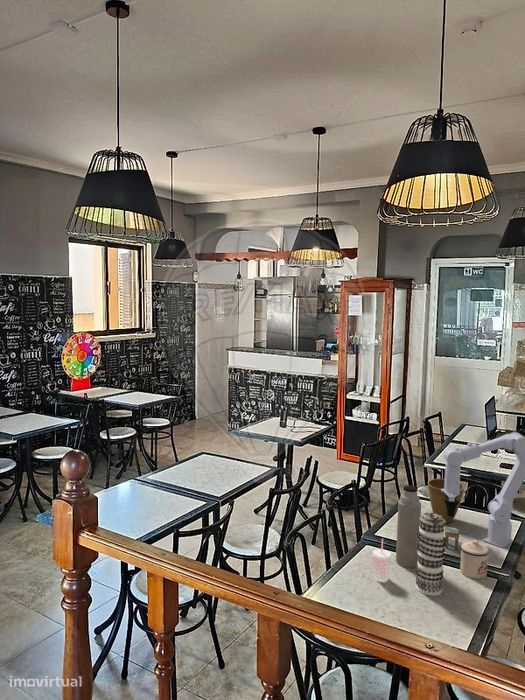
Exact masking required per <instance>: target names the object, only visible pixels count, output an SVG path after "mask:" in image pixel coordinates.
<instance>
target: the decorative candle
mask: <svg viewBox="0 0 525 700" xmlns="http://www.w3.org/2000/svg"><path fill="white" fill-rule="evenodd" d="M419 518H420V526H419V528H418V529H417V538H418V539H417V548H418V550H417V553H418V555H419V556H418V565H417V566H416V567H415V569H416V570H415V571H416V575H415V589H416V590H417V591H418V592H419V593H422V594H424V595H426V596H439V595H441V594H442V593H443V584H444V579H443V578H444V569H443V567H444V566H443V559H444V558H445V556H446V555H445V549H444V548H443V547H444V546H446V544H445V541H446V539H445V538H444V537H445V524H446V523H445V520H444V519H443V518H442V516H441V515H439V514H437V513H433V511H432V512H430V511H429V512H425V513H423V514H422V515H421V517H419ZM419 536H420V537H419Z"/></svg>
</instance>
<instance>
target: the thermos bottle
mask: <svg viewBox="0 0 525 700" xmlns="http://www.w3.org/2000/svg"><path fill="white" fill-rule="evenodd" d="M402 488H403V491H402V493H401V494H400V497H399V500H398V502H397V521H396V523H397V524H396V525H397V527H396V530H397V531H396V544H395V545H396V548H395V550H396V551H395V562H396V563H397V565H399V566H401V567H405V568H410V569H411V568H417V567H416V566H417V565H418V556H419V555H418V553H417V550H418V548H417V539H418V538H417V529H418V528H419V526H420V518H419V517H421V516H422V503H421V502H420V500H421V499H420V496H419V495H418V487H416V486H415V485H414V486H413V485H403V487H402ZM419 537H420V536H419Z"/></svg>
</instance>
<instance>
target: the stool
mask: <svg viewBox="0 0 525 700" xmlns="http://www.w3.org/2000/svg"><path fill="white" fill-rule="evenodd" d="M444 537H445V539H446V541H445V544H446V546H445V548H448V538H450V539H454V540H455V550H458V542H459V539H460V529H459V528H457V527H449V526H444Z"/></svg>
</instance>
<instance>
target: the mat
mask: <svg viewBox="0 0 525 700" xmlns="http://www.w3.org/2000/svg"><path fill="white" fill-rule="evenodd" d="M444 538H445V536H444ZM463 543H464V542H460V541H458V550H455V539H454V538H450V537H448V548H445V546H444V547H443V548H444V549H445V552H447V553H446V554H448V553H449V554H448V555H450V554H452V555H451V556H453V555H454V557H455V556H456V558H461V545H462V544H463ZM445 552H444V553H445Z"/></svg>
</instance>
